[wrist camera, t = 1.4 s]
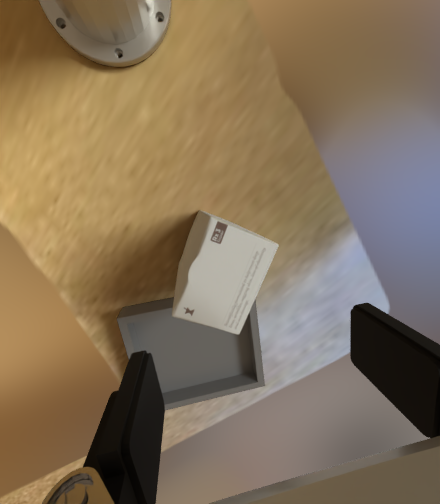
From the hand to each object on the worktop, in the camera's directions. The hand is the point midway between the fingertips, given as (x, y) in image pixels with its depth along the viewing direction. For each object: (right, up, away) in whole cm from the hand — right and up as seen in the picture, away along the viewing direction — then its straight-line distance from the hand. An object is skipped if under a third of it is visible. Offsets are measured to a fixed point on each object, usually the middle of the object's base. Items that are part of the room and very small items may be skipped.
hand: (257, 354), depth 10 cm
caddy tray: (-5, -9, +24) cm, 27 cm away
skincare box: (-3, +6, +21) cm, 22 cm away
